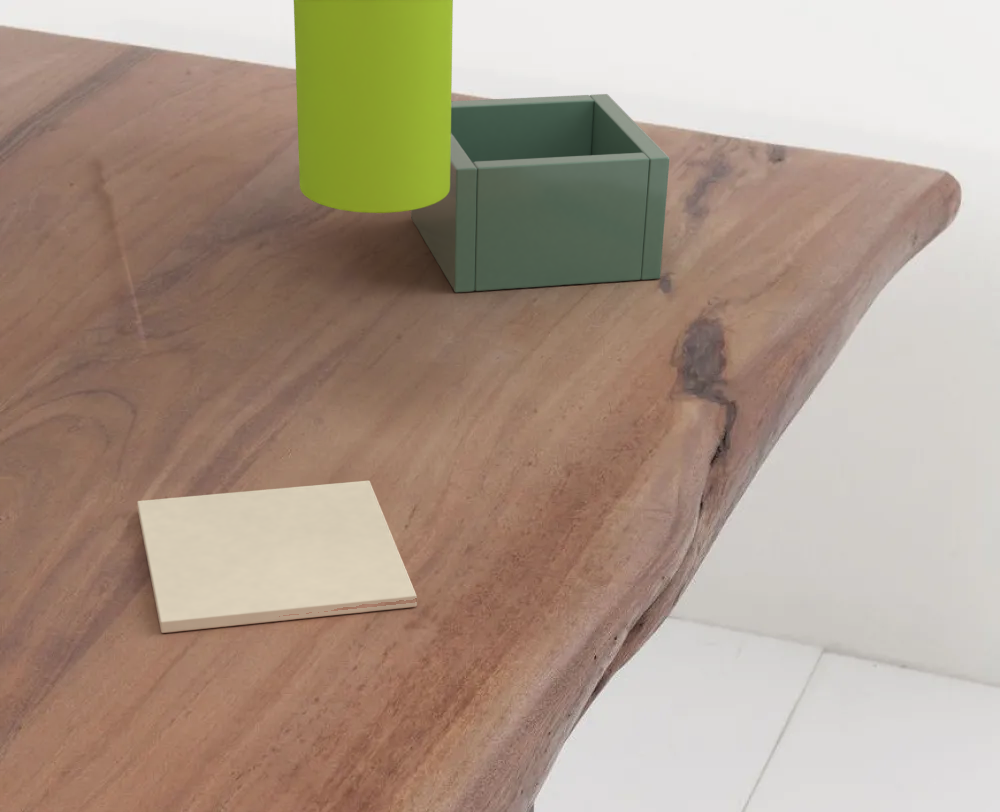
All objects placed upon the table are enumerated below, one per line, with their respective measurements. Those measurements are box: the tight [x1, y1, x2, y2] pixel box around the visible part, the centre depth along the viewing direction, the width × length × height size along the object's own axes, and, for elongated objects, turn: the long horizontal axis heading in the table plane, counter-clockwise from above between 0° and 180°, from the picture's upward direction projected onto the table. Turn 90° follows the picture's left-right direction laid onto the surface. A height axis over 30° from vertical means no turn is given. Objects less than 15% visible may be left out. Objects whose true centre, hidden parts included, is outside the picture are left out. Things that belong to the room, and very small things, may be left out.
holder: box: [410, 93, 670, 293], centre depth 94 cm, size 10×10×6 cm
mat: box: [136, 480, 418, 634], centre depth 69 cm, size 9×9×1 cm
